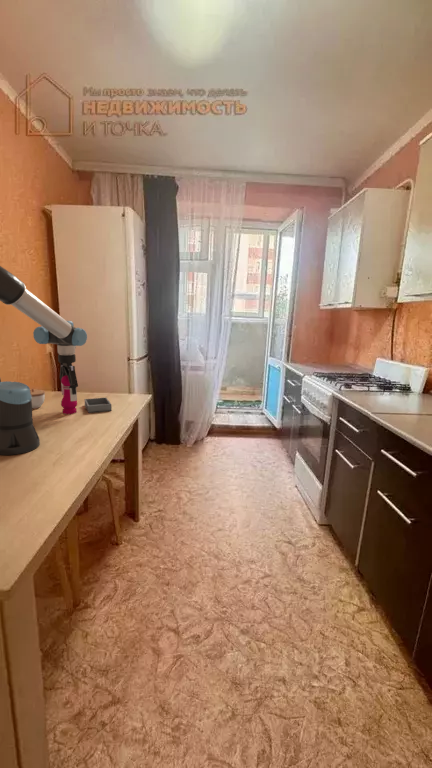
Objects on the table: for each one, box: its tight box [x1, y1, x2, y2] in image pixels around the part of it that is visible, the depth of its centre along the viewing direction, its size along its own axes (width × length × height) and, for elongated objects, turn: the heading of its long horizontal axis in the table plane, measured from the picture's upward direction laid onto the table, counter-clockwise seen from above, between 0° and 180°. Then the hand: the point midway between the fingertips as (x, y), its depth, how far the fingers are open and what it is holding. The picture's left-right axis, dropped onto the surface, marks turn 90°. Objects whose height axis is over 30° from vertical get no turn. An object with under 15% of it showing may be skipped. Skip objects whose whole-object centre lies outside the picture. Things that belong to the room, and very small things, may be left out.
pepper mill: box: [60, 375, 78, 415], centre depth 165 cm, size 7×7×20 cm
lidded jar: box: [30, 388, 46, 409], centre depth 173 cm, size 11×11×9 cm
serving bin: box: [84, 397, 113, 414], centre depth 176 cm, size 14×11×4 cm
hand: (69, 397), depth 166 cm, fingers open, 13 cm apart
